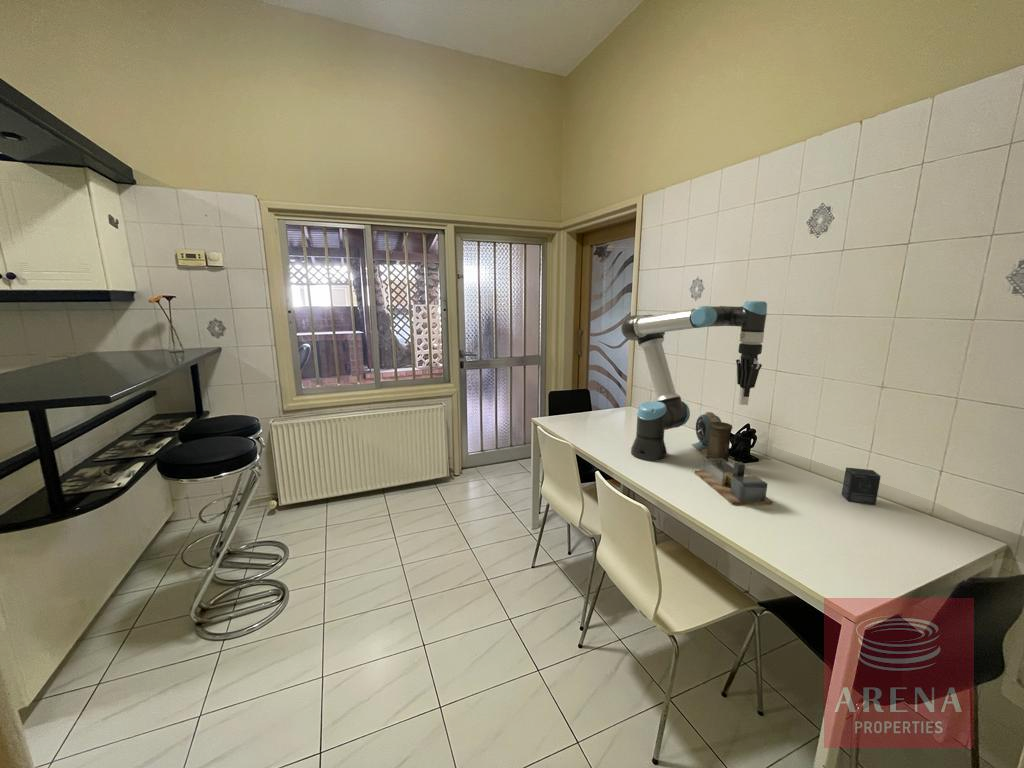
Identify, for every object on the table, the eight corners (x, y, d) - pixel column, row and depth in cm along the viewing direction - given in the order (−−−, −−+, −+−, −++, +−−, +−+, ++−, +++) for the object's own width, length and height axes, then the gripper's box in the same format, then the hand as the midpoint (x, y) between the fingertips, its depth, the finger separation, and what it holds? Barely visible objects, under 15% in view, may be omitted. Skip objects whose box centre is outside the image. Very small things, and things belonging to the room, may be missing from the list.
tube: (721, 481, 150) (724, 456, 148) (732, 481, 150) (735, 456, 148) (744, 499, 136) (748, 472, 134) (756, 499, 136) (760, 472, 134)
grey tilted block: (702, 470, 160) (703, 458, 159) (721, 470, 161) (722, 458, 160) (721, 486, 147) (723, 473, 146) (742, 485, 147) (744, 472, 146)
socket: (730, 493, 141) (732, 476, 140) (753, 493, 141) (756, 476, 140) (740, 501, 135) (742, 483, 134) (765, 501, 135) (767, 483, 134)
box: (867, 498, 140) (873, 469, 138) (875, 505, 135) (881, 476, 133) (840, 494, 143) (845, 466, 141) (847, 501, 138) (852, 472, 136)
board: (694, 472, 161) (694, 470, 160) (728, 472, 161) (728, 470, 161) (732, 504, 135) (732, 502, 135) (772, 504, 136) (772, 501, 136)
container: (706, 468, 165) (710, 426, 162) (703, 460, 174) (707, 420, 170) (730, 471, 162) (735, 428, 159) (726, 463, 171) (731, 422, 167)
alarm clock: (690, 443, 194) (693, 408, 191) (710, 444, 194) (714, 408, 190) (702, 454, 180) (706, 416, 177) (724, 455, 180) (729, 417, 176)
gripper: (731, 341, 156) (724, 400, 161) (750, 344, 144) (743, 408, 148) (750, 341, 156) (743, 400, 161) (771, 345, 144) (763, 408, 148)
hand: (743, 404), depth 155 cm, fingers closed
